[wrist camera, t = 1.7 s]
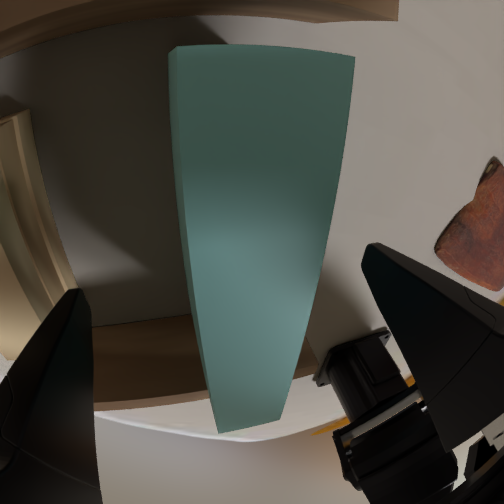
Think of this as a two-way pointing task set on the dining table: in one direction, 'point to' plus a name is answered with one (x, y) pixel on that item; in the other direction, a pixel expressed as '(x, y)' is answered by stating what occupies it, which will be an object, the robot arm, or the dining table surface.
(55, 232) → the offcut stack
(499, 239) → the wooden tablet
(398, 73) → the dining table surface
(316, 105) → the teal sheet
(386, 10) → the walnut rack
